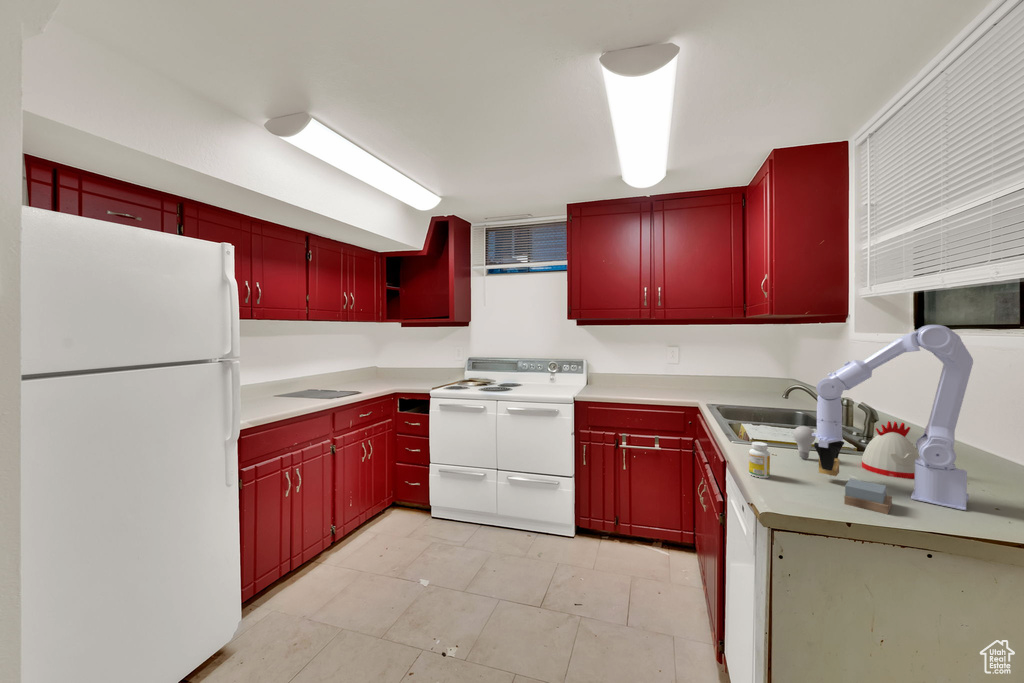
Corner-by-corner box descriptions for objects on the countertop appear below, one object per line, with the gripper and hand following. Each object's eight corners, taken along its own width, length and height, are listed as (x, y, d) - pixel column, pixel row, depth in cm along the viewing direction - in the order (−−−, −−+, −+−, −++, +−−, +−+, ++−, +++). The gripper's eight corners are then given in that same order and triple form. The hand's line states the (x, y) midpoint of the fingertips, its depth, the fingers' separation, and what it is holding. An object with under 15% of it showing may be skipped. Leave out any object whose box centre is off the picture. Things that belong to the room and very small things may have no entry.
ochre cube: (839, 472, 118) (839, 458, 118) (836, 476, 116) (836, 462, 116) (821, 469, 121) (822, 455, 121) (818, 472, 119) (818, 458, 118)
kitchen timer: (935, 481, 118) (936, 428, 117) (875, 476, 122) (876, 425, 122) (906, 465, 131) (907, 418, 130) (853, 461, 135) (854, 415, 135)
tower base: (891, 506, 103) (892, 496, 103) (887, 516, 97) (887, 506, 97) (850, 497, 109) (850, 487, 109) (844, 506, 103) (844, 496, 103)
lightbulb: (819, 461, 135) (820, 428, 135) (800, 462, 135) (801, 428, 135) (806, 456, 141) (807, 423, 141) (788, 456, 141) (788, 424, 141)
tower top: (885, 495, 103) (886, 485, 103) (882, 503, 98) (882, 493, 98) (849, 488, 108) (850, 478, 108) (845, 495, 104) (845, 485, 104)
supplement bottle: (756, 479, 121) (757, 446, 120) (744, 472, 126) (744, 441, 126) (774, 478, 121) (774, 445, 121) (761, 472, 127) (761, 440, 126)
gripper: (818, 414, 126) (818, 458, 126) (805, 422, 116) (805, 470, 117) (848, 417, 121) (847, 464, 121) (837, 426, 111) (836, 476, 111)
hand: (829, 467), depth 118 cm, fingers closed on ochre cube, 4 cm apart
